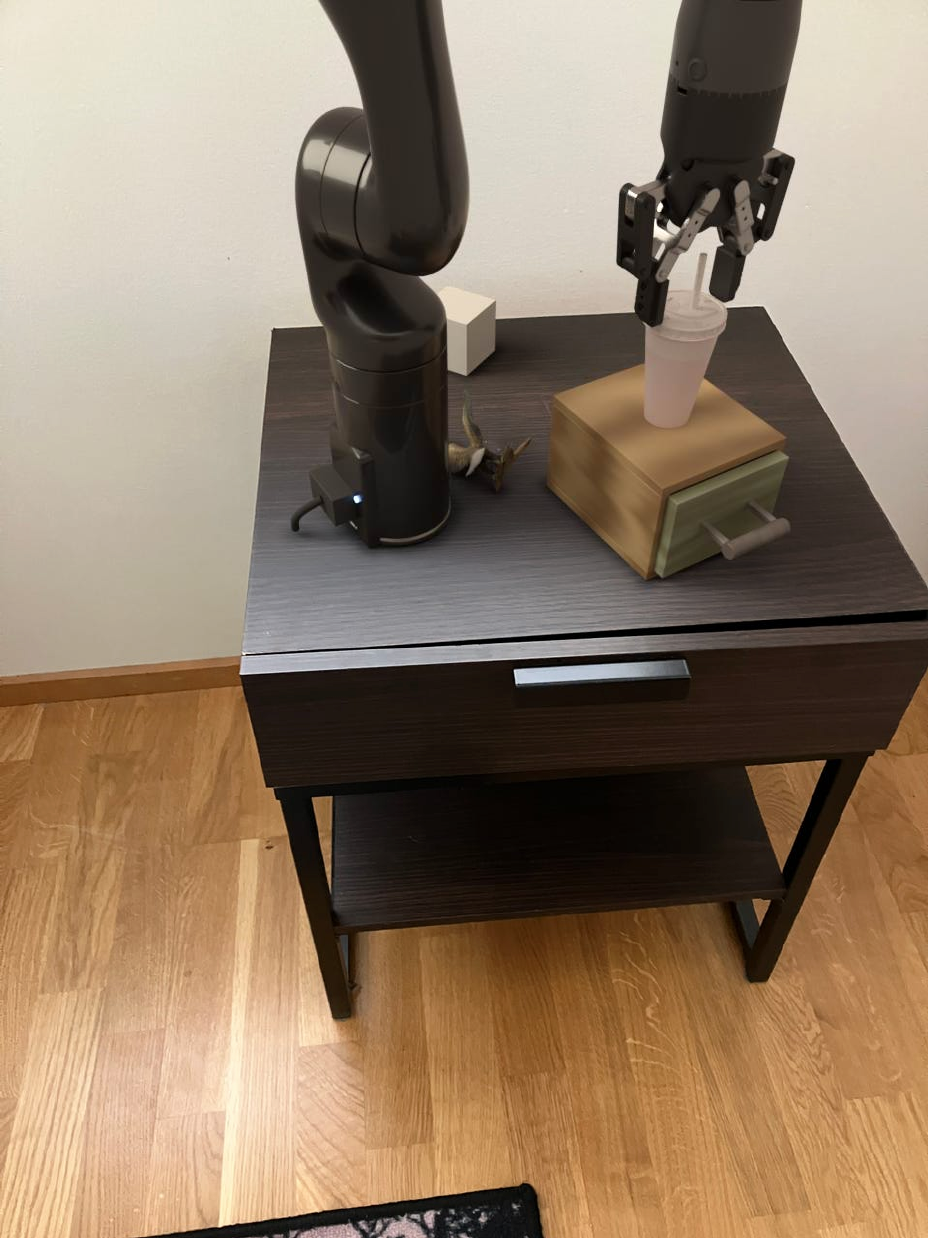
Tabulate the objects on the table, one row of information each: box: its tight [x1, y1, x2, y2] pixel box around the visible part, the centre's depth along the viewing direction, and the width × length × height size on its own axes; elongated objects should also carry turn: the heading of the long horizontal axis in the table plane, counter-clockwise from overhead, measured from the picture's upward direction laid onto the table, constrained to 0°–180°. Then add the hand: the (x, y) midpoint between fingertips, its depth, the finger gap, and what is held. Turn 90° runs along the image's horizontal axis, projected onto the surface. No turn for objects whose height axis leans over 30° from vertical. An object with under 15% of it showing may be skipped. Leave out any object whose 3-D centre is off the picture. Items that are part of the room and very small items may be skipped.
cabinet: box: [546, 362, 787, 581], centre depth 84 cm, size 15×13×10 cm
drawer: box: [654, 450, 791, 579], centre depth 81 cm, size 18×12×8 cm, turn 31°
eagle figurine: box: [449, 389, 533, 492], centre depth 89 cm, size 8×7×9 cm
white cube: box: [436, 285, 497, 377], centre depth 103 cm, size 6×6×6 cm
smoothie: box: [642, 252, 729, 429], centre depth 75 cm, size 6×6×14 cm
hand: (685, 308), depth 73 cm, fingers open, 6 cm apart
